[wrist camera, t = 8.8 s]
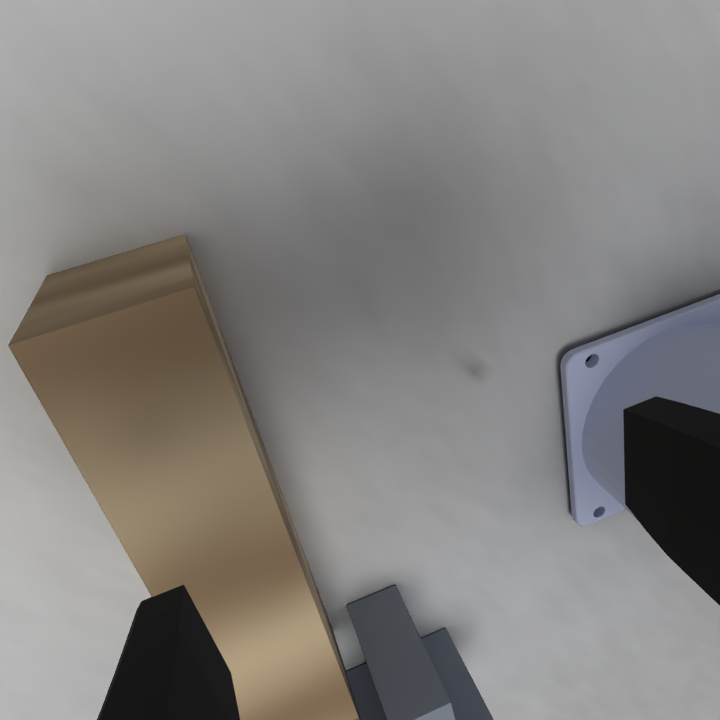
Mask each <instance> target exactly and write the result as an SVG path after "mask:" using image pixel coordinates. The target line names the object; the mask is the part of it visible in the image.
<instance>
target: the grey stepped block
mask: <svg viewBox="0 0 720 720" xmlns="http://www.w3.org/2000/svg"><path fill="white" fill-rule="evenodd" d="M347 608H348V611H349V614H350V617H351V620H352V622H353V625H354V628H355V631H356V634H357V637H358V639H359V642H360V645H361V648H362V651H363V654H364V656H365V659H366V662H367V663H365V664H363V665H360V666H358V667H356V668H354V669H351V670H349V671H347V672H346V673H347V677H348V680H349V683H350V686H351V689H352V692H353V696H354V699H355V702H356V705H357V708H358V711H359V714H360V718H361V720H493V718H492V716H491V714H490V712H489V710H488V708H487V706H486V704H485V702H484V700H483V699H482V697H481V695H480V693H479V691H478V689H477V687H476V685H475V683H474V681H473V679H472V677H471V676H470V674H469V672H468V670H467V668H466V666H465V664H464V662H463V660H462V658H461V656H460V655H459V653H458V651H457V649H456V647H455V645H454V643H453V641H452V639H451V637H450V635H449V633H448V632H447V630H446V628H444V629H442V630H440V631H437V632H435V633H433V634H431V635H428V636H426V637H424V638H422V639H421V638H420V636H419V634H418V632H417V630H416V627H415V625H414V623H413V621H412V619H411V617H410V615H409V612H408V610H407V608H406V606H405V604H404V602H403V600H402V598H401V595H400V593H399V591H398V589H397V587H396V585H394V586H391V587H389V588H387V589H384V590H382V591H380V592H377V593H375V594H373V595H370V596H368V597H365V598H363V599H361V600H358V601H356V602H354V603H351V604H349V605H347Z"/></svg>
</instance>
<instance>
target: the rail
mask: <svg viewBox="0 0 720 720" xmlns="http://www.w3.org/2000/svg"><path fill="white" fill-rule="evenodd" d="M8 346H9V348H10V350H11V351H12V353H13V355H14V357H15V358H16V360H17V362H18V364H19V365H20V367H21V369H22V371H23V372H24V374H25V376H26V378H27V379H28V381H29V383H30V385H31V386H32V388H33V390H34V392H35V393H36V395H37V397H38V399H39V400H40V402H41V404H42V406H43V407H44V409H45V411H46V413H47V414H48V416H49V418H50V420H51V421H52V423H53V425H54V427H55V428H56V430H57V432H58V434H59V435H60V437H61V439H62V441H63V442H64V444H65V446H66V448H67V449H68V451H69V453H70V455H71V456H72V458H73V460H74V462H75V463H76V465H77V467H78V469H79V470H80V472H81V474H82V476H83V477H84V479H85V481H86V483H87V484H88V486H89V488H90V490H91V491H92V493H93V495H94V497H95V498H96V500H97V502H98V504H99V505H100V507H101V509H102V511H103V512H104V514H105V516H106V518H107V519H108V521H109V523H110V525H111V526H112V528H113V530H114V532H115V533H116V535H117V537H118V539H119V540H120V542H121V544H122V546H123V547H124V549H125V551H126V553H127V554H128V556H129V558H130V560H131V561H132V563H133V565H134V567H135V568H136V570H137V572H138V574H139V575H140V577H141V579H142V581H143V582H144V584H145V586H146V588H147V589H148V591H149V593H150V595H151V596H152V597H154V596H156V595H159V594H161V593H164V592H166V591H169V590H171V589H174V588H176V587H179V586H181V585H184V586H185V587H186V589H187V591H188V593H189V595H190V597H191V599H192V601H193V602H194V604H195V606H196V608H197V610H198V612H199V614H200V615H201V617H202V619H203V621H204V623H205V625H206V627H207V629H208V630H209V632H210V634H211V636H212V638H213V640H214V642H215V644H216V645H217V647H218V649H219V651H220V653H221V655H222V657H223V658H224V660H225V662H226V664H227V666H228V668H229V670H230V672H231V675H232V680H233V685H234V690H235V695H236V700H237V705H238V710H239V716H240V720H361V718H360V714H359V711H358V708H357V705H356V702H355V699H354V696H353V692H352V689H351V686H350V683H349V680H348V677H347V673H346V670H345V667H344V664H343V661H342V658H341V654H340V651H339V648H338V645H337V642H336V639H335V636H334V632H333V630H332V627H331V624H330V622H329V619H328V616H327V614H326V611H325V608H324V606H323V603H322V600H321V597H320V595H319V592H318V589H317V587H316V584H315V581H314V579H313V576H312V573H311V571H310V568H309V565H308V563H307V560H306V557H305V555H304V552H303V549H302V547H301V544H300V541H299V539H298V536H297V533H296V531H295V528H294V525H293V523H292V520H291V517H290V515H289V512H288V509H287V506H286V504H285V501H284V498H283V496H282V493H281V490H280V488H279V485H278V482H277V480H276V477H275V474H274V472H273V469H272V466H271V464H270V461H269V458H268V456H267V453H266V450H265V448H264V445H263V442H262V440H261V437H260V434H259V432H258V429H257V426H256V424H255V421H254V418H253V415H252V413H251V410H250V407H249V405H248V402H247V399H246V397H245V394H244V391H243V389H242V386H241V383H240V381H239V378H238V375H237V373H236V370H235V367H234V365H233V362H232V359H231V357H230V354H229V351H228V349H227V346H226V343H225V341H224V338H223V335H222V333H221V330H220V327H219V324H218V322H217V319H216V316H215V314H214V311H213V308H212V306H211V303H210V300H209V298H208V295H207V292H206V290H205V287H204V284H203V282H202V279H201V276H200V274H199V271H198V268H197V266H196V263H195V260H194V258H193V255H192V252H191V250H190V247H189V244H188V242H187V239H186V236H185V234H184V235H181V236H177V237H174V238H171V239H167V240H164V241H161V242H157V243H154V244H151V245H147V246H144V247H141V248H137V249H134V250H131V251H127V252H124V253H121V254H117V255H114V256H111V257H107V258H104V259H101V260H97V261H94V262H91V263H87V264H84V265H81V266H77V267H74V268H71V269H67V270H64V271H61V272H57V273H54V274H51V275H47V277H46V278H45V280H44V282H43V284H42V286H41V287H40V289H39V291H38V293H37V295H36V296H35V298H34V300H33V302H32V304H31V305H30V307H29V309H28V311H27V313H26V314H25V316H24V318H23V320H22V322H21V323H20V325H19V327H18V329H17V331H16V333H15V334H14V336H13V338H12V340H11V342H10V343H9V345H8Z"/></svg>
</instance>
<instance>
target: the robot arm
mask: <svg viewBox="0 0 720 720" xmlns="http://www.w3.org/2000/svg"><path fill="white" fill-rule="evenodd" d="M591 354H592V355H591ZM590 355H591V358H590V360H589V361H587V362H586V359H587V358H588V356H590ZM585 362H586V363H585ZM560 369H561V382H562V395H563V407H564V420H565V433H566V446H567V459H568V472H569V485H570V498H571V511H572V518H573V520H574V521H575V522H576V523H577V524H578V525H580V526H587V525H590V524H592V523H595V522H597V521H599V520H602V519H604V518H606V517H609V516H611V515H613V514H616V513H618V512H620V511H623V510H625V509H627V510H628V511H629V512H630V513H631V514H632V515H633V516H634V517H635V518H636V519H637V520H638V521H639V522H640V523H641V525H642V526H643V527H644V528H645V530H646V531H647V532H648V533H649V534H650V536H651V537H652V538H653V539H654V540H655V541H656V543H657V544H658V545H659V546H660V547H661V548H662V550H663V551H664V552H665V553H666V554H667V555H668V556H669V557H670V558H671V559H672V560H673V561H674V562H675V563H676V564H677V565H678V566H679V567H680V568H681V569H682V570H683V571H684V572H685V573H686V574H687V575H688V576H689V577H690V578H691V579H692V580H693V581H695V582H696V583H697V584H698V585H699V586H700V587H701V588H702V589H703V590H704V591H705V592H706V593H707V594H708V595H709V596H710V597H711V598H712V599H713V600H715V601H716V602H717V603H718V604H719V605H720V294H718V295H715V296H713V297H710V298H707V299H705V300H702V301H699V302H697V303H694V304H691V305H689V306H686V307H683V308H681V309H678V310H675V311H673V312H670V313H667V314H665V315H662V316H659V317H657V318H654V319H651V320H649V321H646V322H643V323H641V324H638V325H635V326H633V327H630V328H627V329H625V330H622V331H619V332H617V333H614V334H611V335H609V336H606V337H603V338H601V339H598V340H595V341H593V342H590V343H587V344H585V345H582V346H579V347H577V348H574V349H572V350H570V351H568V352H567V353H566V354H565V355H564V356H563V358H562V360H561V365H560ZM97 720H240V716H239V710H238V705H237V700H236V695H235V690H234V685H233V680H232V675H231V672H230V670H229V668H228V666H227V664H226V662H225V660H224V658H223V657H222V655H221V653H220V651H219V649H218V647H217V645H216V644H215V642H214V640H213V638H212V636H211V634H210V632H209V630H208V629H207V627H206V625H205V623H204V621H203V619H202V617H201V615H200V614H199V612H198V610H197V608H196V606H195V604H194V602H193V601H192V599H191V597H190V595H189V593H188V591H187V589H186V587H185V586H184V585H181V586H179V587H176V588H174V589H171V590H169V591H166V592H164V593H161V594H159V595H156V596H154V597H151V598H149V599H146V600H144V601H141V603H140V605H139V607H138V609H137V611H136V614H135V617H134V620H133V622H132V625H131V628H130V631H129V634H128V637H127V640H126V643H125V646H124V648H123V651H122V654H121V657H120V660H119V663H118V665H117V668H116V671H115V674H114V676H113V679H112V682H111V684H110V687H109V690H108V693H107V695H106V698H105V701H104V703H103V706H102V709H101V711H100V714H99V716H98V719H97Z"/></svg>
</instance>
